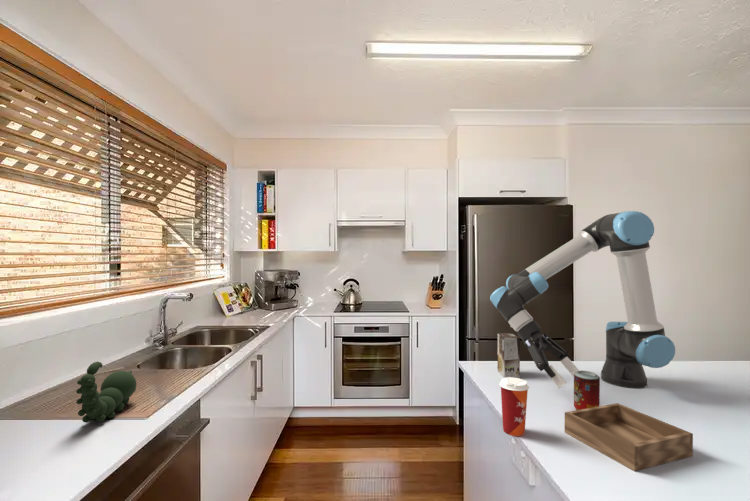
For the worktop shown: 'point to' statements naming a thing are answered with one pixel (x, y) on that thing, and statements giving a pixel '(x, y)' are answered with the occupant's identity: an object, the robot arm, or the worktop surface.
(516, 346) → the coffee box
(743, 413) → the worktop surface
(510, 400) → the paper cup
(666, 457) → the walnut box
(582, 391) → the soda can
